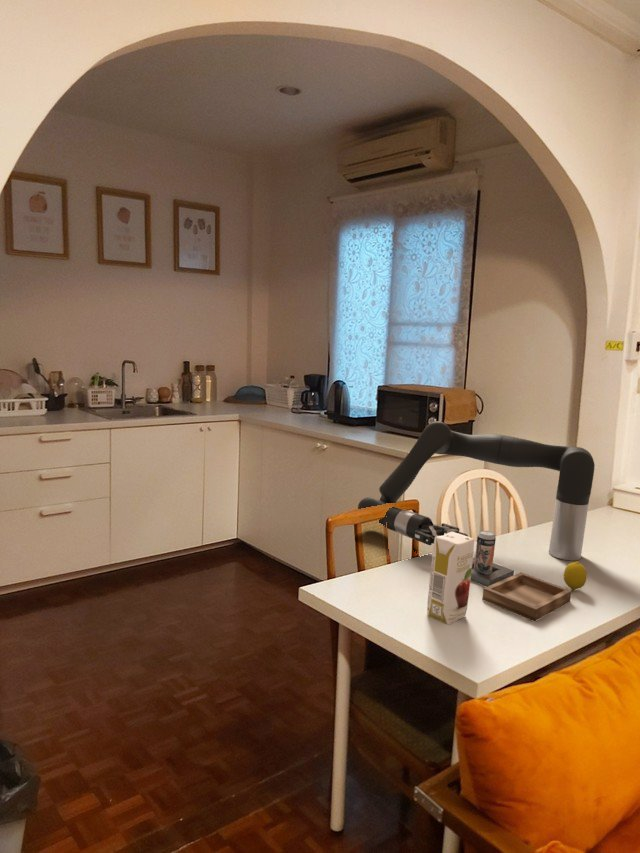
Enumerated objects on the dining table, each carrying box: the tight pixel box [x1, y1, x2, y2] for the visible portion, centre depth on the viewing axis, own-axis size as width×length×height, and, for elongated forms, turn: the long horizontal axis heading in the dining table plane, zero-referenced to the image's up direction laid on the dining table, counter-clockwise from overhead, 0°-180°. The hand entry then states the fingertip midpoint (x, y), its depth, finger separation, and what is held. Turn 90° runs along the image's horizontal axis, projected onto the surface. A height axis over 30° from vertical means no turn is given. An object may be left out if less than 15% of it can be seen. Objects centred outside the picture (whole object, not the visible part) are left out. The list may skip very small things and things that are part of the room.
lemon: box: [563, 560, 588, 591], centre depth 164 cm, size 6×6×8 cm
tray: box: [481, 572, 573, 622], centre depth 155 cm, size 18×14×3 cm
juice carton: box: [426, 531, 475, 625], centre depth 143 cm, size 8×9×19 cm
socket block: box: [470, 556, 515, 587], centre depth 170 cm, size 12×12×2 cm
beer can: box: [474, 530, 497, 575], centre depth 170 cm, size 5×5×12 cm
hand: (458, 541), depth 176 cm, fingers open, 8 cm apart
